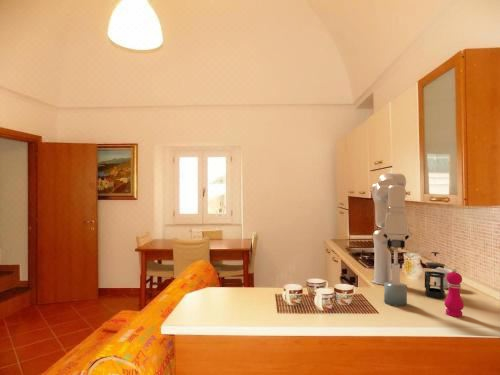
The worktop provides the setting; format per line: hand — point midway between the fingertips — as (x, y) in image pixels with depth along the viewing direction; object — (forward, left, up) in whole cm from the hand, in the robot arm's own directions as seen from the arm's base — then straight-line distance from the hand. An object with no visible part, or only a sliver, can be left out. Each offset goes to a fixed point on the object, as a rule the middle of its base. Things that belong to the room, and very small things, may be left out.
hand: (395, 248), depth 166 cm
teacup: (-37, +41, -27) cm, 61 cm away
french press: (-16, +26, -27) cm, 41 cm away
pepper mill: (+14, +20, -27) cm, 36 cm away
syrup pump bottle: (0, 0, -26) cm, 26 cm away
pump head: (-1, +1, -8) cm, 9 cm away
